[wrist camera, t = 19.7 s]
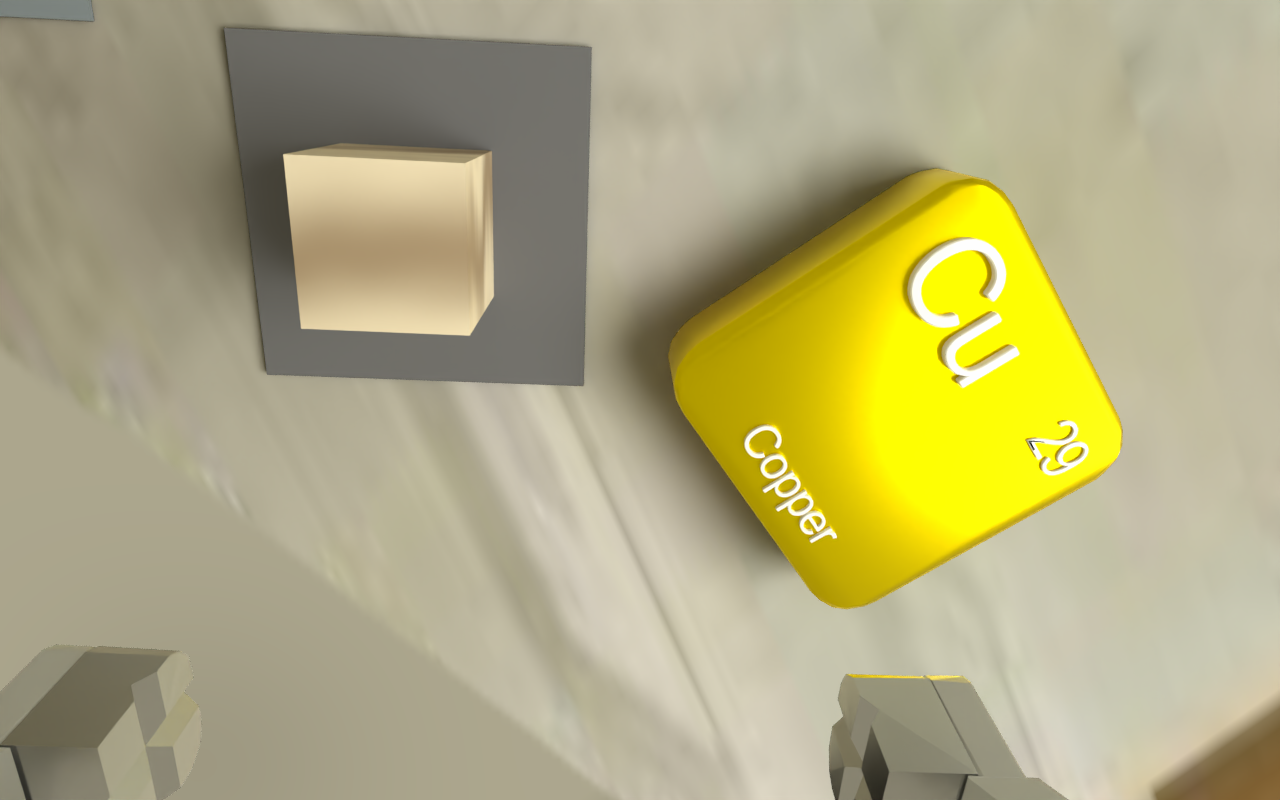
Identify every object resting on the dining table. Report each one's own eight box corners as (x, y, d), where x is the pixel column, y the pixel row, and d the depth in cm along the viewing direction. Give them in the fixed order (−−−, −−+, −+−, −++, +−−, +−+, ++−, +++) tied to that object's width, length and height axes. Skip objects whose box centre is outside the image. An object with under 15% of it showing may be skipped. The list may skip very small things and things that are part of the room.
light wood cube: (341, 143, 32) (283, 154, 27) (491, 150, 33) (465, 163, 27) (352, 289, 35) (301, 328, 29) (494, 296, 35) (469, 335, 29)
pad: (227, 28, 31) (223, 27, 31) (591, 47, 32) (591, 47, 31) (269, 372, 36) (266, 374, 36) (583, 383, 37) (583, 385, 36)
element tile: (649, 342, 36) (653, 377, 32) (947, 146, 34) (996, 155, 29) (814, 575, 41) (837, 634, 37) (1087, 419, 38) (1149, 463, 34)
